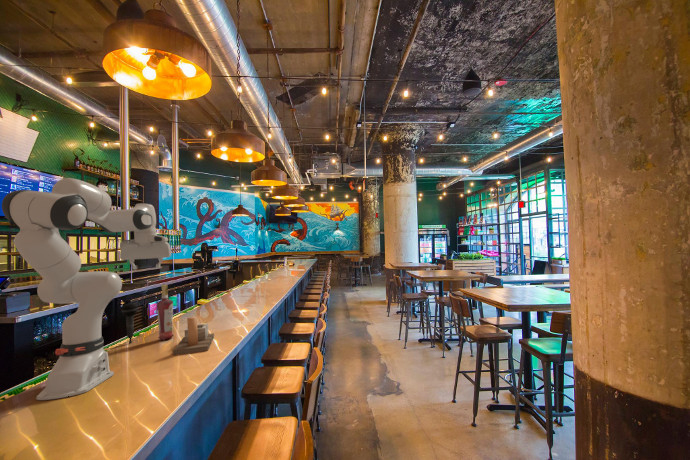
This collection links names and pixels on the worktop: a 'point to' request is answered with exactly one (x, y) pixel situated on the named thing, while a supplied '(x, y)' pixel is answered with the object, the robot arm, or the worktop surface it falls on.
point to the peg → (192, 331)
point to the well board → (203, 341)
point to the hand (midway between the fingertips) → (146, 268)
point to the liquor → (165, 315)
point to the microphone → (129, 318)
